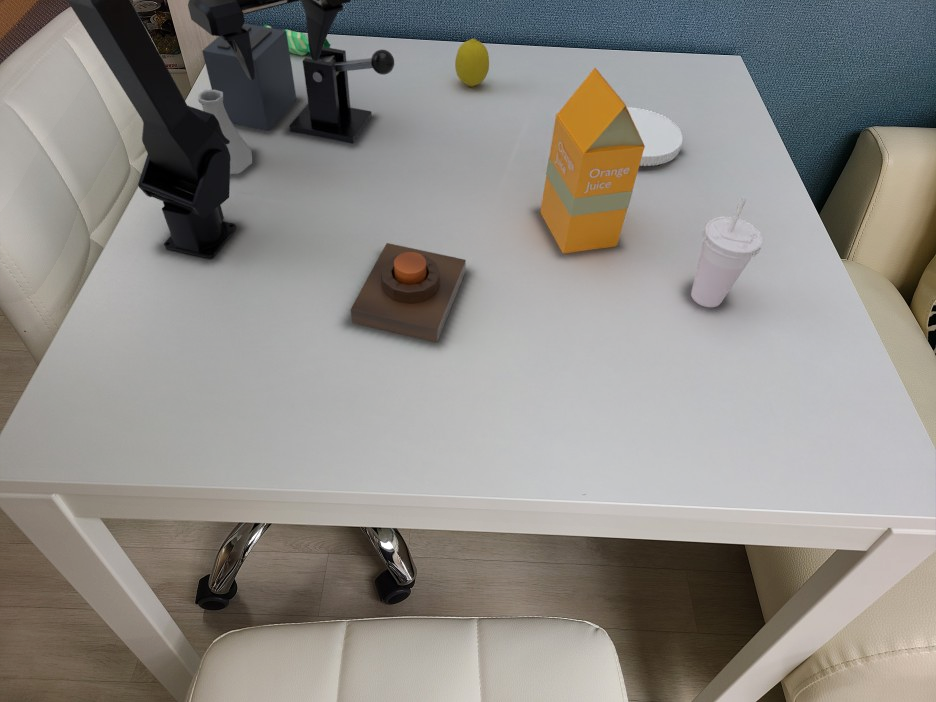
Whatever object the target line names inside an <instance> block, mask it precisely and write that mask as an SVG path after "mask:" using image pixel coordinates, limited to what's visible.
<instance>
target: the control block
mask: <svg viewBox="0 0 936 702" xmlns="http://www.w3.org/2000/svg"><path fill="white" fill-rule="evenodd" d="M406 252H414V253H418V254H420V255H422V256H423V257H424V258H425V260H426V277H425V279H424V280H423V281H422V282H420V283H418V284H412V285H407V284H402V283H400V282H399V281H398V280H397V279H396V278H395V275H394V260H395V258H396V257H397V256H398V255H400V254H402V253H406ZM466 263H467V260H466V259H464V258H459V257H454V256H449V255H445V254H440V253H436V252H431V251H427V250H422V249H417V248H412V247H407V246H404V245H398V244H394V243H390V242H386V244H385V245H384V247H383V248H382V251H381V253H380V254H379V256H378V258H377V260H376V262H375V264H374V266H373V267H372V269H371V271H370V272H369V275H368V276H367V279H366V280H365V282H364V284H363V285H362V288H361V289H360V291H359V293H358V294H357V297H356V299H355V300H354V302H353V304H352V306H351V308H350V317H351V323H352V324H355V325H360V326H364V327H369V328H372V329H377V330H381V331H385V332H390V333H395V334H397V335H398V334H399V335H402V336H407V337H412V338H416V339H420V340H424V341H428V342H433V343H438V342H439V339H440V336H441V334H442V332H443V329H444V327H445V325H446V322H447V319H448V316H449V314H450V311H451V309H452V306H453V304H454V302H455V299H456V297H457V294H458V291H459V289H460V286H461V285H462V283H463V279H464V277H465V274H466Z"/></svg>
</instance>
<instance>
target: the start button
mask: <svg viewBox="0 0 936 702" xmlns="http://www.w3.org/2000/svg"><path fill="white" fill-rule="evenodd" d="M394 275H395V278H396V279H397V280H398V281H399V282H400V283H402V284H407V285H412V284H418V283H420V282H422V281H423V280H424V279H425V277H426V260H425V258H424V257H423V256H422V255H420V254H418V253H414V252H406V253H402V254H400V255H398V256H397V257H396V258H395V260H394Z"/></svg>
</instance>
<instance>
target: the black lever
mask: <svg viewBox="0 0 936 702" xmlns="http://www.w3.org/2000/svg"><path fill="white" fill-rule="evenodd" d="M318 60H321V61H326V62H332V63H335V71H336V76H337V75H338V73H339V72H340V71H347V72H350V71H359V70H360V71H361V70H370V69H373V71H374V72H375V73H377V74H378V75H382V76H383V75H385V76H386V75H388V74H390V73H391V72H392V71H393V69H394V68H395V58H394V56H393V54H392V53H391V52H390V51H389V50H387V49H378V50H376V51H375V52H373V54H372V56H371V57H370V58H360V59H352V60H346V61H340V62H336V59H335V56H325V57H319V59H318Z"/></svg>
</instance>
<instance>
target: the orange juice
mask: <svg viewBox="0 0 936 702" xmlns="http://www.w3.org/2000/svg"><path fill="white" fill-rule="evenodd" d="M627 107H628V106H627V104H626V103H625V102H624V101H623V100H622V98H621V97H620V96H619V95H618V93H617V92H616V90H614V89H613V87H612V86H611V85H610V83H608V81H607V80H606V79H605V77H604V76H603V75H602V74H601V72H599V70H598V69H597V67H594V68H593V70H591V72H590V73H589V74H588V76H587V77H586V78H585V79H584V80H583V81H582V83H581V84H580V85H579V86H578V88H576V90H575V92H574V93H573V94H572V95H571V96H570V97H569V99H567V101H566V103H565V104H564V105H563V106H562V107H561V109H560V110H559V111H558V113H557V112H556V113H555V120H554V125H553V131H552V138H551V144H550V149H549V156H548V159H547V167H546V172H545V180H544V187H543V188H544V189H543V194H542V199H541V204H540V205H541V206H540V211H539V213H540V215H541V217H542V218H543V221H544V222H545V224H546V226H547V227H548V229H549V231H550V233H551V235H552V237H553V238H554V240H555V242H556V244H557V246H558V247H559V249H560V251H561V253H562V254H569V253H570V254H571V253H576V252H584V251H591V250H600V249H608V248H615V247H617V246H618V243H619V241H620V236H621V232H622V229H623V226H624V221H625V218H626V214H627V211H628V209H629V206H630V203H631V200H632V199H631V198H632V195H633V190H634V187H635V183H636V180H637V175H638V172H639V170H640V169H639V168H640V162H641V158H642V155H643V151H644V147H645V146H644V143H643V141H642V139H641V137H640V135H639V133H638V130H637V128H636V126H635V124H634V122H633V120H632V118H631V115H630V113H629V111H628V109H627Z"/></svg>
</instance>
